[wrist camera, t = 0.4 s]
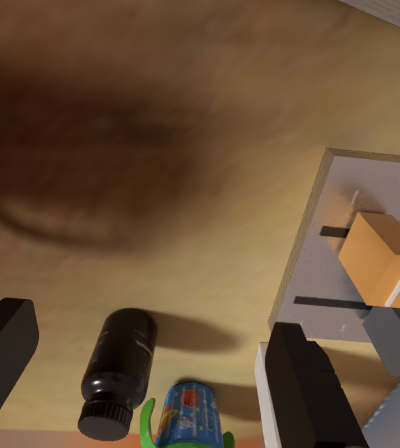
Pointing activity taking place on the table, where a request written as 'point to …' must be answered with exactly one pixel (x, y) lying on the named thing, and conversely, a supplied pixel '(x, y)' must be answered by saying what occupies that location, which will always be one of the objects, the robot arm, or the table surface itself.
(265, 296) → the table surface
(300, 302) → the console
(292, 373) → the robot arm
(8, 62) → the table surface
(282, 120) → the table surface
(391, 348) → the block
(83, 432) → the supplement bottle
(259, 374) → the milk
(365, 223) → the orange fader
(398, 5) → the small box
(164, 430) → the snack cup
